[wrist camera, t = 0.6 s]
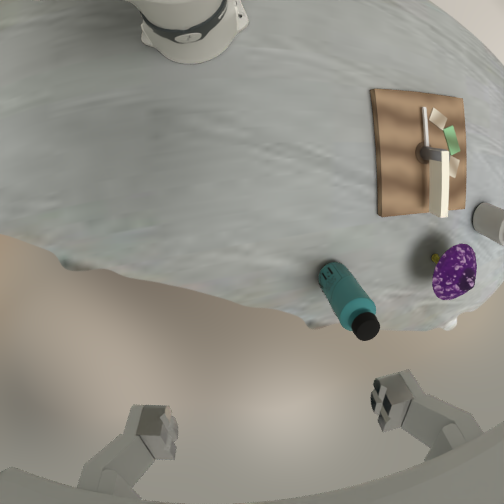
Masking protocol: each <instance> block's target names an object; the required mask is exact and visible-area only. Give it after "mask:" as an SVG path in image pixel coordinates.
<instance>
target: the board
mask: <svg viewBox="0 0 504 504" xmlns="http://www.w3.org/2000/svg"><path fill="white" fill-rule="evenodd" d="M370 93H371V101H372V110H373V120H374V132H375V145H376V163H377V191H378V215H379V216H381V217H388V216H397V215H407V214H417V213H427V212H429V192H430V164H429V160H424V159H422V158H421V156H420V150H421V148H422V147H424V146H425V145H424V128H423V115H422V107H426V110H427V121H428V136H429V146H425V147H433V148H440V149H446V150H448V151H449V153H450V161H449V202H448V210H457V209H465V200H466V131H465V117H464V105H463V99H462V98H456V97H450V96H443V95H436V94H429V93H421V92H412V91H401V90H389V89H372V90H370Z"/></svg>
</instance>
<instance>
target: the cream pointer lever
mask: <svg viewBox="0 0 504 504" xmlns="http://www.w3.org/2000/svg"><path fill="white" fill-rule="evenodd" d="M422 115H423V128H424V145H425V146H429V136H428V121H427V110H426V107H422ZM425 146H424V147H422V148H421V150H420V156H421V158H422V159H424V160H429V164H430V192H429V212H430V213H432V214H434V215H436V216H438V217H440V218H443V217H448V202H449V161H450V153H449V151H448V150H446V149H440V148H433V147H425Z"/></svg>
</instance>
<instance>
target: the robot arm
mask: <svg viewBox="0 0 504 504" xmlns="http://www.w3.org/2000/svg"><path fill="white" fill-rule="evenodd" d="M34 1H42V0H34ZM124 1H128V2H130V3H132V4H133V5H134V6H136V7H137V8H138V9H139V10H140V13H141V17H142V19H143V23H142V24H141V28H142V36H141V40H142V42H143V43H144V44H145V45H148V46H151V47H154V48H156V49H157V50H159V51H160V52H161V53H162V54H163V55H164V56H165V57H166V58H168V59H170V60H172V61H174V62H178V63H182V64H197V63H202V62H205V61H208V60H211V59H213V58H215V57H217V56H218V55H220V54H221V53H222V52H223V51H224V50H226V48H227V47H228V46H229V45H230V43H231V42H232V40H233V39H234V37H235V36H236V34H238V33H239V32H241V31H242V30H243V29H245V28H246V27H247V26H248V24H249V20H248V17H247V15H246V12H245V10H244V7H243V5H242V3H241V0H124ZM239 15H240V16H242V17H241V18H238V16H239ZM373 385H374V388H375V389H374V390H373V391H372V392H371V406H372V409H373V411H374V413H375V414H377V415H379V417H378V423H379V425H380V427H381V430H382V432H386V431H389V430H393V429H396V428H400V427H401V428H402V429H403V430H405V431H406V432H408V433H409V434H411V435H412V436H413V437H415V438H416V439H418V440H419V441H421V442H422V443H424V444H425V445H427V446H428V447H429V448H431V449H430V451H429V453H428V454H427V456H426V457H425V459H424V461H425V462H423V463H421V464H418V465H416V466H413V467H411V468H408V469H405V470H403V471H400V472H397V473H394V474H391V475H388V476H385V477H382V478H379V479H376V480H372V481H369V482H365V483H362V484H358V485H355V486H351V487H346V488H342V489H338V490H334V491H329V492H324V493H320V494H314V495H309V496H302V497H296V498H289V499H282V500H274V501H264V502H253V503H235V504H504V421H503V422H502V423H500V424H498V425H497V426H495V427H494V428H492V429H490V430H488V431H487V432H485V433H484V432H483V431H482V429H481V428H480V426H479V425H478V423H477V422H476V420H475V419H474V417H473V416H472V414H471V413H469V412H467V411H464V410H462V409H460V408H458V407H455V406H453V405H451V404H449V403H447V402H445V401H443V400H440V399H439V398H437V397H434V396H432V395H430V394H427V395H426V394H425V392H424V391H423V390H422V388H421V386H420V385H419V383H418V382H417V380H416V378H415V377H414V375H413V374H412V373H411V371H410V370H404V371H401V372H398V373H393V374H390V375H386V376H383V377H379V378H376V379H375V380H374V383H373ZM171 413H172V410H171V408H170V406H161V405H160V406H159V405H133V406H132V407H131V410H130V413H129V416H128V420H127V423H126V426H125V430H124V434H120V435H119V436H117V437H116V438H115V439H114V440H113V441H112V442H110V443H109V444H108V445H107V446H106V447H105V448H103V449H102V450H101V451H100V452H99V453H97V454H96V455H95V456H94V457H93V458H91V459H90V460H89V461H88V462H86V463H85V464H84V466H83V470H82V472H81V476H80V479H79V482H78V485H77V488H76V487H72V486H69V485H65V484H62V483H58V482H55V481H52V480H48V479H45V478H42V477H39V476H36V475H34V474H31V473H28V472H25V471H23V470H20V469H18V468H14V467H10V468H7V469H5V470H3V471H1V472H0V504H185V503H168V502H156V501H147V500H141V497H140V495H139V494H137V493H136V491H134V490H133V489H132V487H133V486H134V485H135V484H136V483H137V482H138V480H139V479H140V478H141V477H142V476H143V475H144V473H145V472H146V471H147V470H148V469H149V467H150V466H151V465H152V464H153V463H154V461H155V459H157V460H158V459H159V460H175V453H176V446H175V444H174V442H175V441H176V440H177V439H178V425H177V421H176V419H175V417H173V416H171Z"/></svg>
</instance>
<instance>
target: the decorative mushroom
mask: <svg viewBox="0 0 504 504" xmlns="http://www.w3.org/2000/svg"><path fill="white" fill-rule="evenodd" d="M431 259H432V261H433V262H435V263H436V264H437V265H436V267H435V270H434V274H433V282H432V286H433V290H434V293H435V294H436V296H437V297H438V298H440V299H442V300H451V299H454V298H457V297H459V296H461V295H463V294H465V293H466V292H467V291H469V290H470V289H472V288H473V287H474V285H475V279H476V269H477V264H476V256H475V253H474V251H473V249H472V248H471V247H470V246H469V245H467V244H458V245H455V246H453V247H451V248H450V249H449V250H447V251H446V252H445V253H444V254H443V255H442V257H441V258H440V257H439V255H438V254H433V255H432V258H431Z"/></svg>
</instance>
